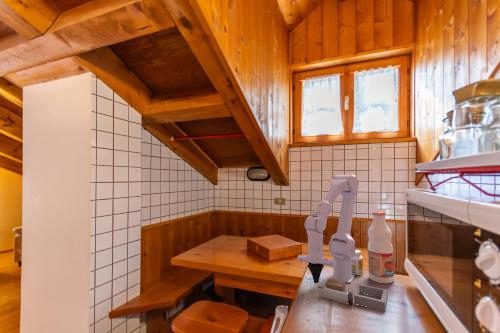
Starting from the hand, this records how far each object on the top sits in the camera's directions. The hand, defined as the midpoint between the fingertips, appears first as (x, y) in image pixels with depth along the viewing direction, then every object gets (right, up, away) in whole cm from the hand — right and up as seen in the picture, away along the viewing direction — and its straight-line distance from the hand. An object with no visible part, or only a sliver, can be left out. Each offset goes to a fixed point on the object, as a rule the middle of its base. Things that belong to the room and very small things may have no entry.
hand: (316, 282), depth 97 cm
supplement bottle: (+22, -3, +14) cm, 26 cm away
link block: (+6, -2, -4) cm, 8 cm away
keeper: (+4, -2, -10) cm, 11 cm away
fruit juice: (+29, -2, +7) cm, 30 cm away
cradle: (+16, -2, -11) cm, 19 cm away
